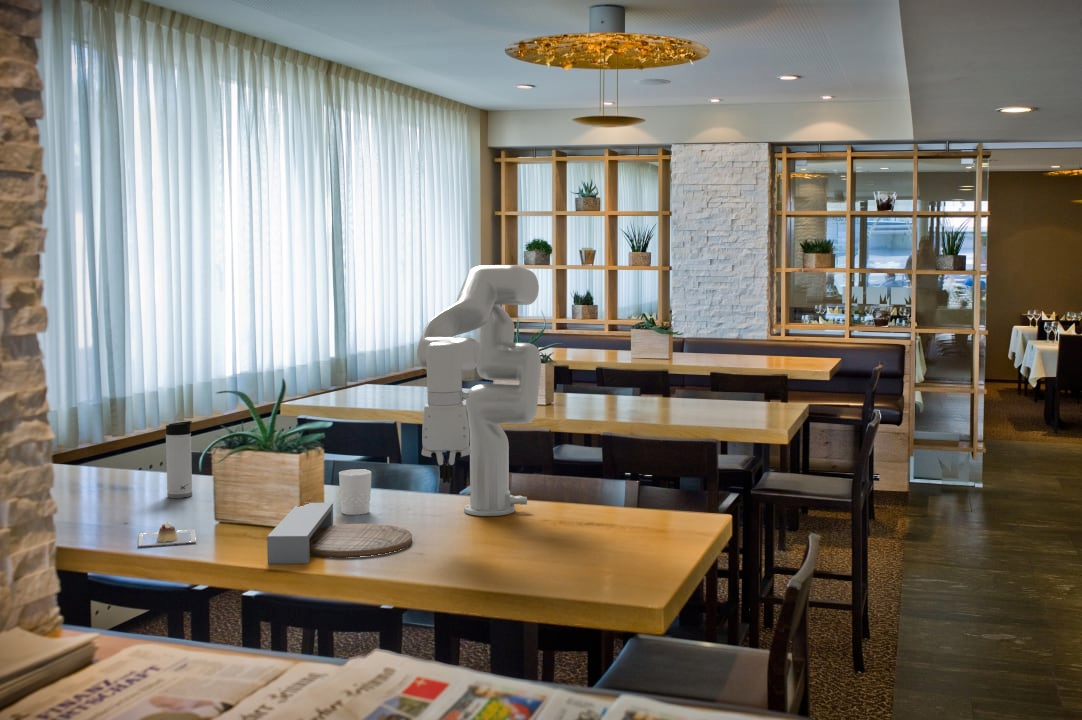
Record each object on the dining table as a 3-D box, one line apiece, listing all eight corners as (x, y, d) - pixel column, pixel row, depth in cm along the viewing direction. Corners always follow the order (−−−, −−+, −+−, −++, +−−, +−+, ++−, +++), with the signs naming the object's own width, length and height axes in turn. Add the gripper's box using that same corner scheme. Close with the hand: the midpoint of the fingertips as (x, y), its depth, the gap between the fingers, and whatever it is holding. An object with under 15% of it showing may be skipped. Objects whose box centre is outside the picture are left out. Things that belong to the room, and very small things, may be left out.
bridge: (333, 526, 256) (333, 502, 256) (307, 563, 223) (306, 536, 223) (298, 526, 256) (298, 502, 255) (267, 563, 223) (267, 536, 222)
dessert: (139, 538, 247) (138, 517, 246) (195, 534, 251) (194, 513, 250) (138, 550, 236) (137, 528, 235) (196, 546, 239) (196, 524, 239)
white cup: (368, 515, 267) (368, 475, 267) (336, 515, 268) (335, 475, 267) (374, 509, 275) (373, 469, 275) (342, 508, 275) (342, 469, 275)
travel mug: (189, 498, 288) (187, 422, 286) (163, 498, 288) (161, 422, 286) (196, 494, 294) (195, 419, 293) (172, 493, 294) (170, 419, 293)
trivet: (315, 530, 253) (315, 522, 253) (422, 533, 251) (422, 525, 251) (279, 558, 229) (279, 549, 228) (397, 561, 226) (397, 552, 226)
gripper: (480, 395, 242) (481, 477, 244) (411, 396, 242) (414, 478, 244) (479, 401, 235) (480, 485, 237) (408, 402, 234) (411, 486, 236)
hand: (446, 481), depth 240 cm, fingers closed
